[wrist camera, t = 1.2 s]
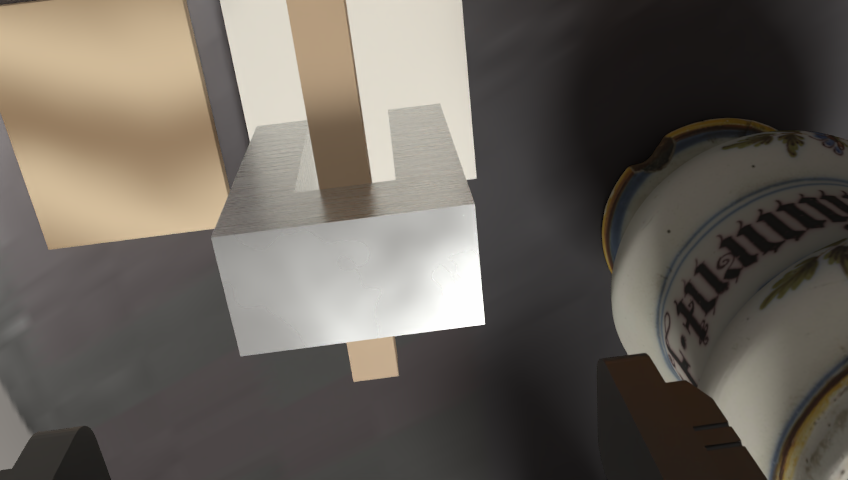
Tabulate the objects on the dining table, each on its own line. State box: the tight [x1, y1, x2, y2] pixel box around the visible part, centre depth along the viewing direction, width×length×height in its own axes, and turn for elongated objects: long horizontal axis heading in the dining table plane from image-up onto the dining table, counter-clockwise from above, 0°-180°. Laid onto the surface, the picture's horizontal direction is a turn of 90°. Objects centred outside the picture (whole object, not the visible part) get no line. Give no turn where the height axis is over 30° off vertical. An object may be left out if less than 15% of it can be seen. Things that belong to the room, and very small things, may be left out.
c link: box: [211, 103, 485, 356], centre depth 21 cm, size 3×6×8 cm, turn 96°
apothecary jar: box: [602, 118, 848, 480], centre depth 28 cm, size 12×12×18 cm
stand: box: [220, 0, 476, 382], centre depth 23 cm, size 16×9×16 cm, turn 6°
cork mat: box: [0, 0, 230, 250], centre depth 32 cm, size 10×8×1 cm
